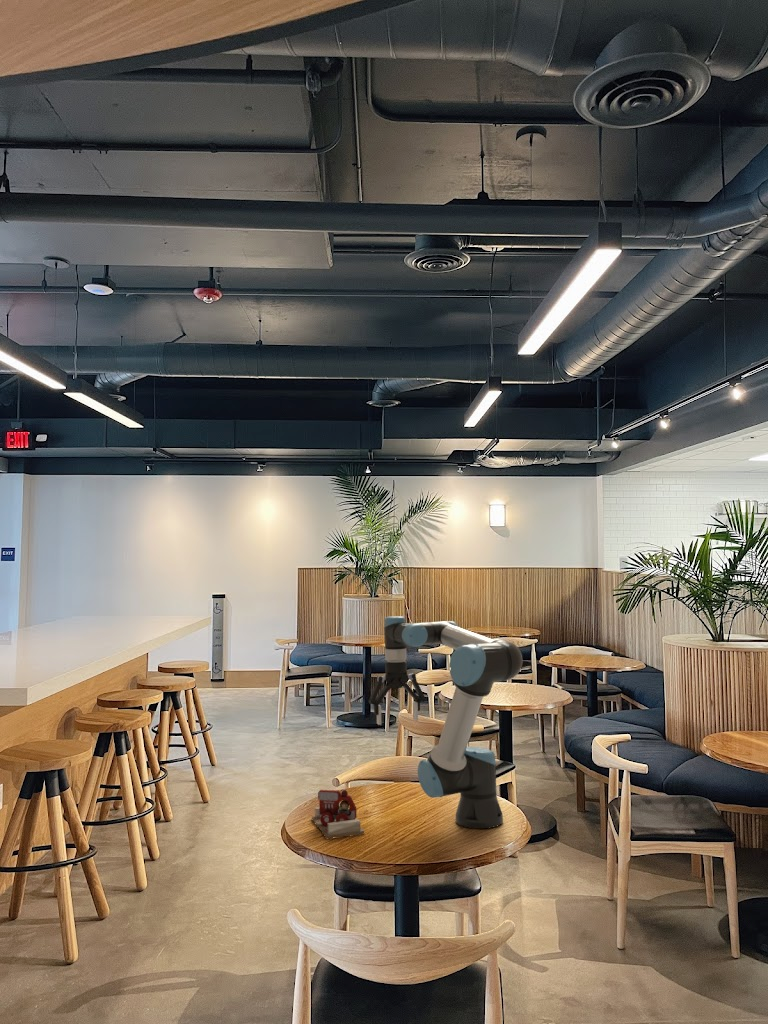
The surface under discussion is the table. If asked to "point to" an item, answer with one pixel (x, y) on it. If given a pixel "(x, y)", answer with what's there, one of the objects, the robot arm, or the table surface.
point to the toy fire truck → (335, 806)
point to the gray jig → (338, 826)
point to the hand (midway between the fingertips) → (397, 722)
